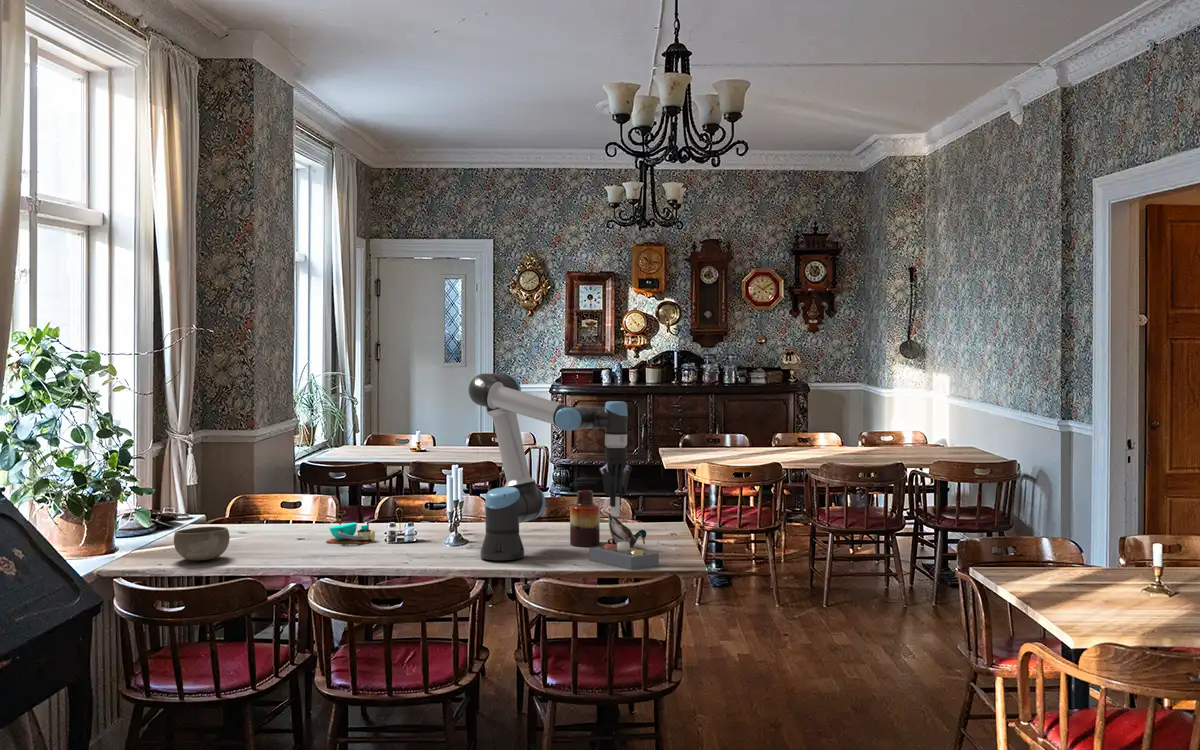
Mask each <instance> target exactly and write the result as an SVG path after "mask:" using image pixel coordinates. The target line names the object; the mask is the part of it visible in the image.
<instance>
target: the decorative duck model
mask: <svg viewBox="0 0 1200 750" xmlns="http://www.w3.org/2000/svg"><path fill="white" fill-rule="evenodd" d="M607 519H608V526H609V533H610V535H611V537H612V538H610V539H608V540H607V544H615V545H617V542H629V543H630V548H634V546H635V544H636V543H637V541H638V539H639V538H641V539H642V544H643V545H646V537H647V530H645V529H639V530H638V531H637V532H636V533H635V534H634V533H633V532H632V530H631V529H630V528H629V527H627V526H626V525H624V524H623V523H622V522H621V521H620V520H619V519H618V518H617V517H615V516H611V513H609V514H608V518H607Z"/></svg>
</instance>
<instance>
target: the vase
mask: <svg viewBox="0 0 1200 750" xmlns="http://www.w3.org/2000/svg"><path fill="white" fill-rule="evenodd" d="M600 509H601V508H600V506H599V505H598V504H596V503H594V495H593V490H588V489H587V490H586V489H583V490H582V489H581V490H578V491H577V494H576V503H574V504H573V505H571V506H570V507H569V513H570V514H569V516H570V517H569V523H570V524H569V525H570V527H569V531H570V532H569V541H570V546H571V545H572V547H575V548H576V547H577V548H595V547H599V546H600V543H601V542H600V538H601V535H600V532H601V531H600V529H601V528H600V523H601V522H600V520H601V519H600V518H601V517H600V515H601V513H600V512H601V511H600Z"/></svg>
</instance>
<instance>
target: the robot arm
mask: <svg viewBox="0 0 1200 750" xmlns="http://www.w3.org/2000/svg"><path fill="white" fill-rule="evenodd" d="M468 396H469V398H470V399H471V401H472V402H473V403H474V404H476V405H478V406H480V407H485V408H486V413H487V415H489V416H490V417H491V418H492V419H493V425H494V429H495V430H494V431H495V435H496V439H497V444H498V447H499V453H500V458H501V464H502V467H503V471H504V476H505V480H506V482H505V484H504V486H501V487H496V488H492V489H490V490H489V491H487V493H486V494H485V502H484V505H485V536H484V539H483V542H482V545H481V548H480V558H481V559H483V560H487V561H489V560H490V561H511V560H512V561H513V560H519V559H522V558H524V557H525V548H524V544H523V542H522V539H521V535H520V523H525V522H530V521H534V520H535V519H537V518H538V517H540V516H541V515H542V514H543V512H544V510H545V507H546V497H545V494H544V493H543V491H542V490H541V489H540V488H538V486H537V482H536V480H535V479H534V478H532V477H531V475H530V472H529V466H528V462H527V458H526V451H525V449H524V448H525V447H524V443H523V439H522V435H521V434H522V433H521V429H520V425H519V421H518V420H519V419H518V416H517V414H519V415H522V416H525V417H527V418H532V419H534V420H538V421H541V422H544V423H548V424H551V425H554V426H557V428H559V429H560V430H562V431H568V432H570V431H577V430H586V429H587V430H588V429H600V430H601V429H602V430H604V432H605V433H604V435H605V436H604V446H605V448H604V458H605V462H604V466H602V467H599V469H598V471H599V473H600V474H601V478H602V479H601V480H602V485H603V490H604V494H605V496H607V497H609V507H610V515H611V516H614V517H616V518H617V517H620V512H621V510H620V507H621V506H622V498H623V497H624V495H626V494H627V491H628V487H629V486H628V485H629V480H630V474H631V473H632V470H633V466H630V465H628V464H627V463H628V462H627V458H628V448H627V445H628V415H629V414H628V404H627V402H625V401H617V400H614V401H613V400H612V401H611V400H610V401H606V402H605V406H592V405H590V406H589V405H581V406H576V407H575V406H570V405H567V404H564V403H561V402H557V401H554V400H550V399H548V398H547V399H546V398H544V397H541V396H540V397H539V396H537V395H533V394H530V393H527V392H523V391H522V388H521V384H520V382H519V381H518V380H517V378H516V377H515V376H513V375H512V374H508V373H504V372H500V373H499V372H498V373H486V372H485V373H480V374H477V375H476V376H474V377H473V379H472V380H471V381H470V382H469V385H468Z"/></svg>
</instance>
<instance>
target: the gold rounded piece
mask: <svg viewBox="0 0 1200 750" xmlns="http://www.w3.org/2000/svg"><path fill="white" fill-rule="evenodd" d="M643 550H644V549H640V550H631V555H635V556H638V555H643Z"/></svg>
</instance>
